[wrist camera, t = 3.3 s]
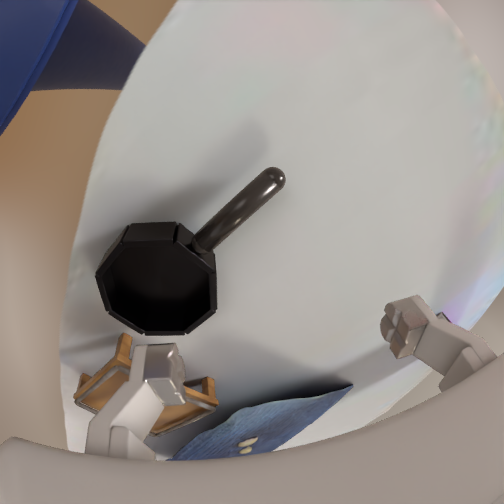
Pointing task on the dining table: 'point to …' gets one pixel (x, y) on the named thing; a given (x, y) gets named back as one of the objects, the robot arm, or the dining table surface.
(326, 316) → the dining table surface
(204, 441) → the blue piece
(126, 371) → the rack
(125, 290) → the pan
